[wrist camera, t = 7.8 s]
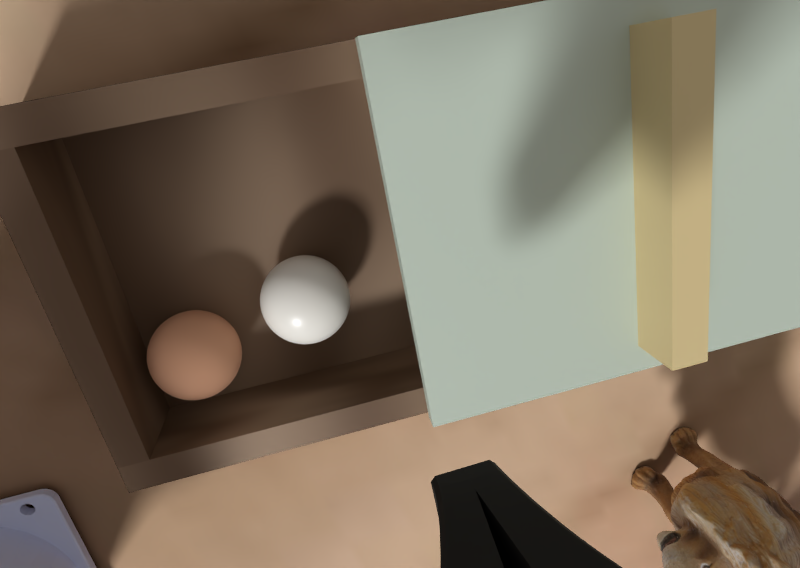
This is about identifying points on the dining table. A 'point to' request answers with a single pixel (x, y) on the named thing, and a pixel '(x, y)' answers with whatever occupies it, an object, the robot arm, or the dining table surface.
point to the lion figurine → (721, 514)
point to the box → (212, 251)
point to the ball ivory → (305, 299)
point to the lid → (588, 188)
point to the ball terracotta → (194, 355)
